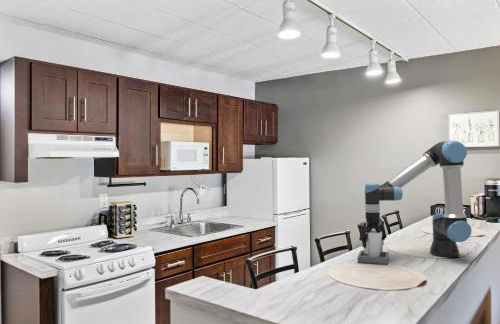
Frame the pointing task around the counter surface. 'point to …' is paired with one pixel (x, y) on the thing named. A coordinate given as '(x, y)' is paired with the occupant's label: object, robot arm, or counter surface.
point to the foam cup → (374, 243)
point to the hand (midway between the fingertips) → (373, 252)
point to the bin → (373, 258)
